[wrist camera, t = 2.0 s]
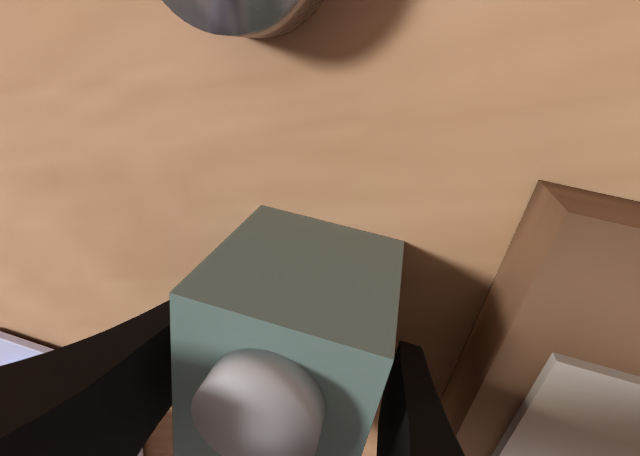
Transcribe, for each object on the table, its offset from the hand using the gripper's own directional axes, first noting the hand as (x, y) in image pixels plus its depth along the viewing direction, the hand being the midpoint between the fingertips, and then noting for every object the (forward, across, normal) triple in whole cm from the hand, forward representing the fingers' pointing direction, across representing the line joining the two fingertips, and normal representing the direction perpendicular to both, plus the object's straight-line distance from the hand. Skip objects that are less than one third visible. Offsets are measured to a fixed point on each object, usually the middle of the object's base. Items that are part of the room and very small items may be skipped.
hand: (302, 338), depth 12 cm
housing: (+2, 0, 0) cm, 2 cm away
